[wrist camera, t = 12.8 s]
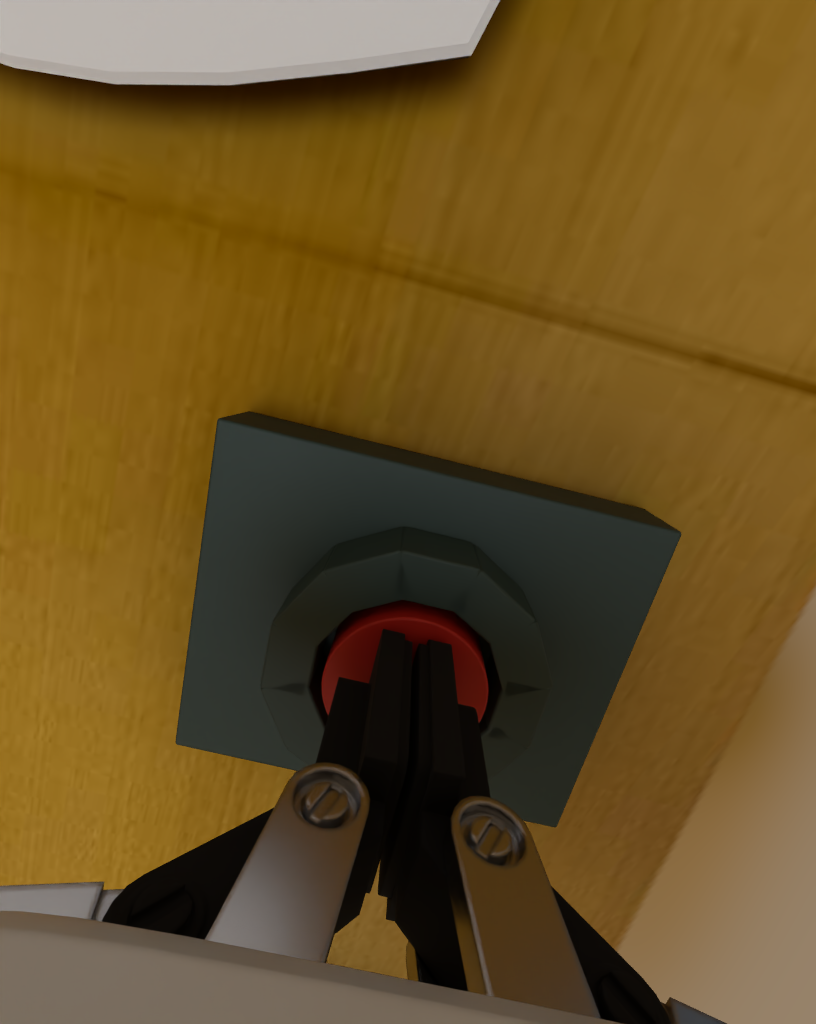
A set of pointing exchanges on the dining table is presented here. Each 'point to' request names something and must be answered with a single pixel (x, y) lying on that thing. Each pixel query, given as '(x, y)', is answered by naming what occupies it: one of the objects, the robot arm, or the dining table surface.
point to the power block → (410, 595)
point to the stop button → (419, 625)
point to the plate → (234, 38)
